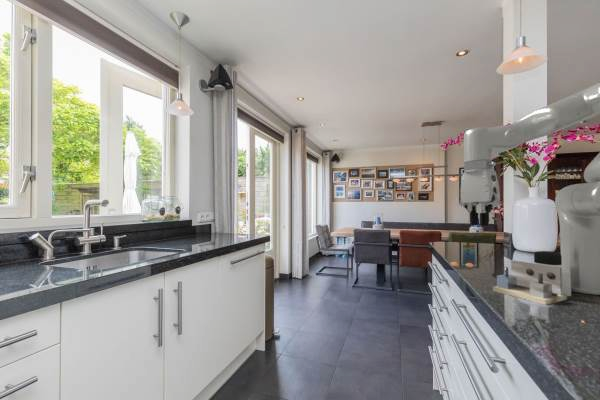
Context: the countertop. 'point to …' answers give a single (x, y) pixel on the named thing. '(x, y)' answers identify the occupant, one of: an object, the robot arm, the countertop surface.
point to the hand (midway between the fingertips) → (479, 224)
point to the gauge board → (535, 283)
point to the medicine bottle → (554, 261)
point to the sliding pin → (506, 280)
